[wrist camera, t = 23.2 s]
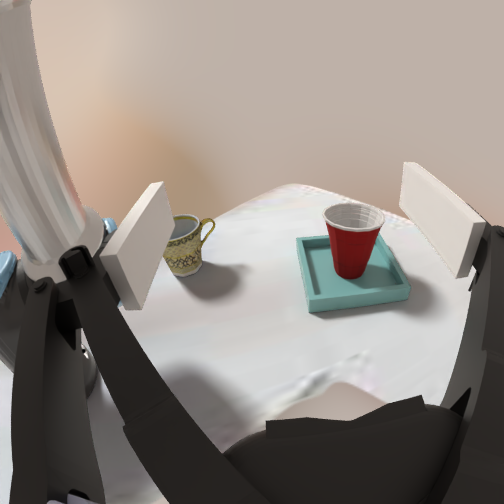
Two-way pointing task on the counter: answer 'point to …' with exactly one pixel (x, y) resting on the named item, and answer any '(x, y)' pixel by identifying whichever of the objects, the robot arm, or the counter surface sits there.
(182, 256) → the ceramic cup
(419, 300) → the counter surface
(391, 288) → the tray
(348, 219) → the plastic cup
